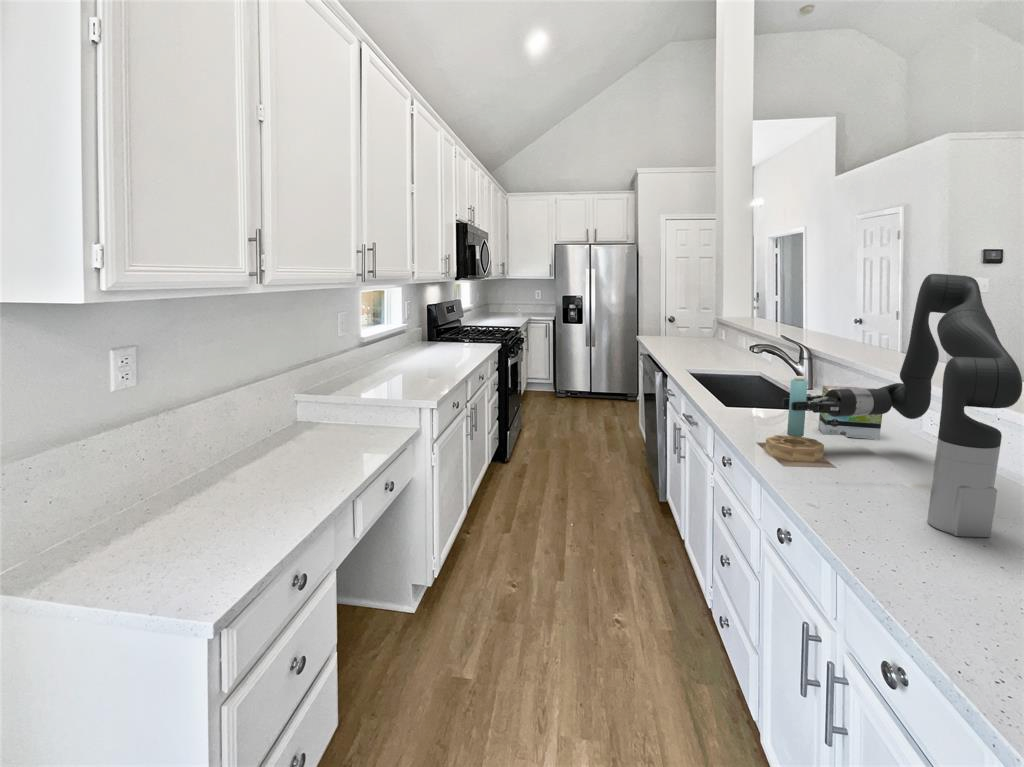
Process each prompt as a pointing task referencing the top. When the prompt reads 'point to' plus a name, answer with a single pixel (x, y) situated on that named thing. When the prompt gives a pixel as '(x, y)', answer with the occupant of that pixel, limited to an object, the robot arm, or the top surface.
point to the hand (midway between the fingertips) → (787, 404)
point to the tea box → (850, 422)
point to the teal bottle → (798, 417)
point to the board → (787, 463)
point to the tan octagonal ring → (794, 448)
